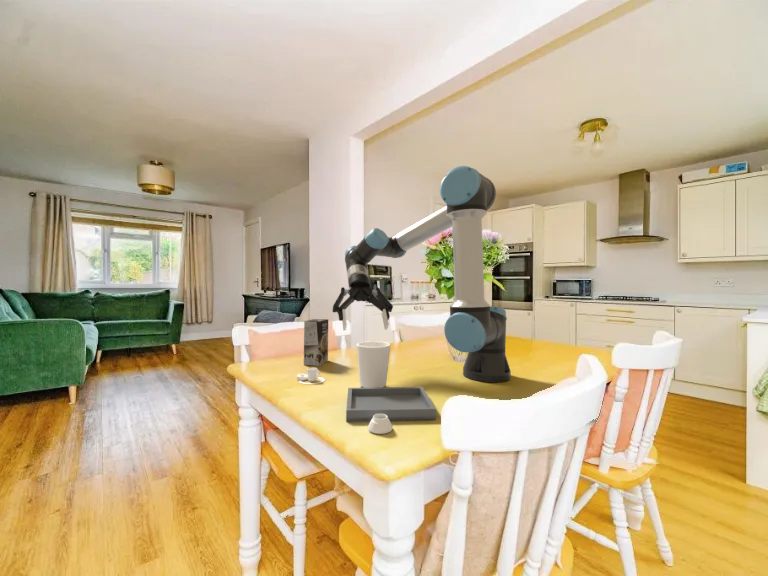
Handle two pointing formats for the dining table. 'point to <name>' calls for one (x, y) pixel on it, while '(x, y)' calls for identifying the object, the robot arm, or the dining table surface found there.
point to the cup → (373, 363)
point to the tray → (389, 404)
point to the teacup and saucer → (310, 376)
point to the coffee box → (315, 342)
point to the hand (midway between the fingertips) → (366, 327)
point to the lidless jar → (380, 424)
